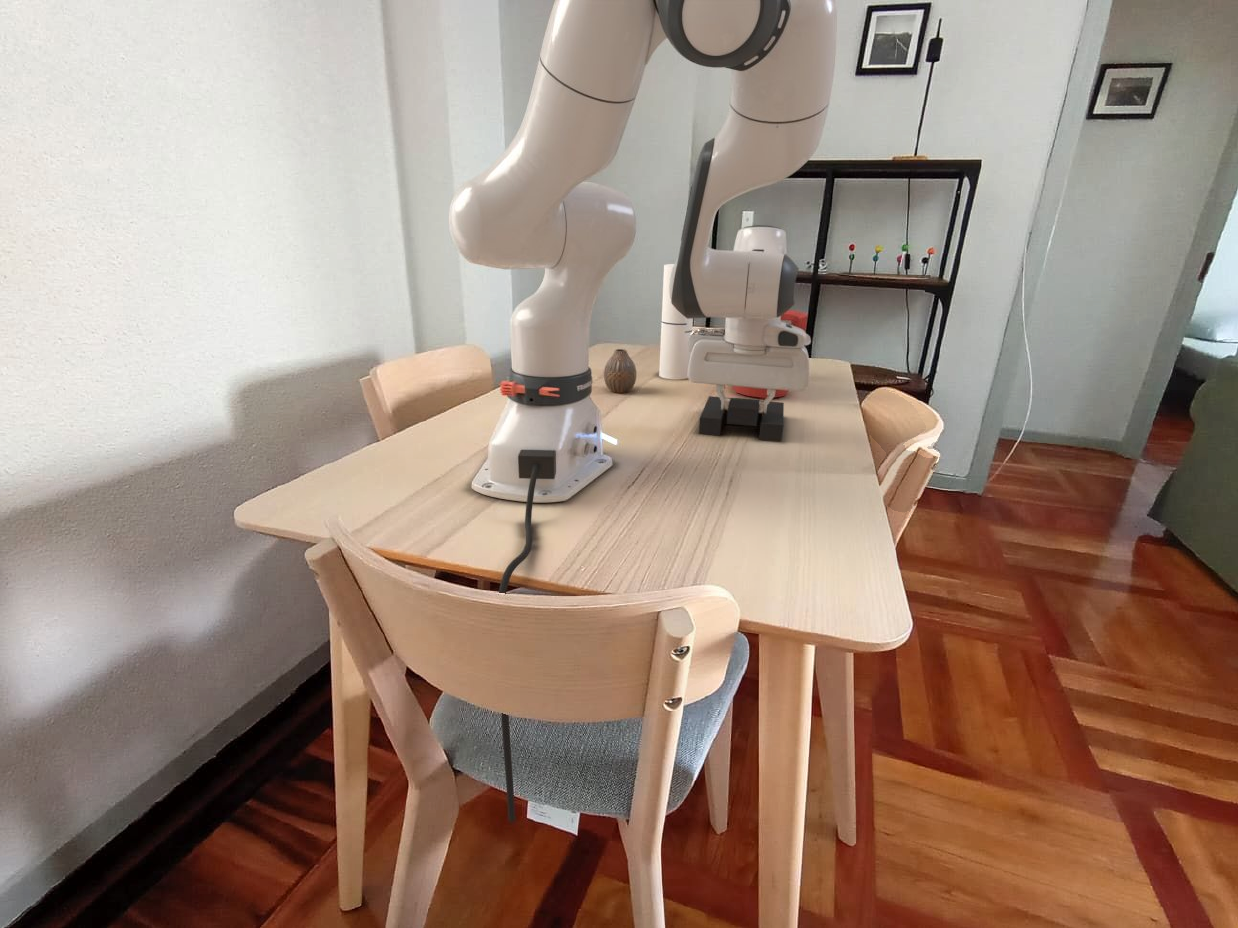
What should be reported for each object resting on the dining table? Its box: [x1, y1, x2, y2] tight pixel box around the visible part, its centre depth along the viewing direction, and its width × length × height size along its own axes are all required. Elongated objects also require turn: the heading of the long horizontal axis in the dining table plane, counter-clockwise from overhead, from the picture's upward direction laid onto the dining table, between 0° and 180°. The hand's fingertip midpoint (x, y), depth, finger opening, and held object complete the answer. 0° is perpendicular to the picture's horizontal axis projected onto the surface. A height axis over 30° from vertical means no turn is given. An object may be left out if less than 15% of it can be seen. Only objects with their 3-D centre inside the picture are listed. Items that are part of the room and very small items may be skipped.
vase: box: [603, 348, 637, 394], centre depth 129 cm, size 7×7×9 cm
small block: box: [727, 397, 761, 427], centre depth 106 cm, size 6×5×3 cm
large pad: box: [698, 395, 785, 443], centre depth 110 cm, size 14×14×3 cm
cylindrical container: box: [658, 263, 694, 381], centre depth 140 cm, size 7×7×25 cm
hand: (743, 411), depth 106 cm, fingers closed on small block, 5 cm apart
